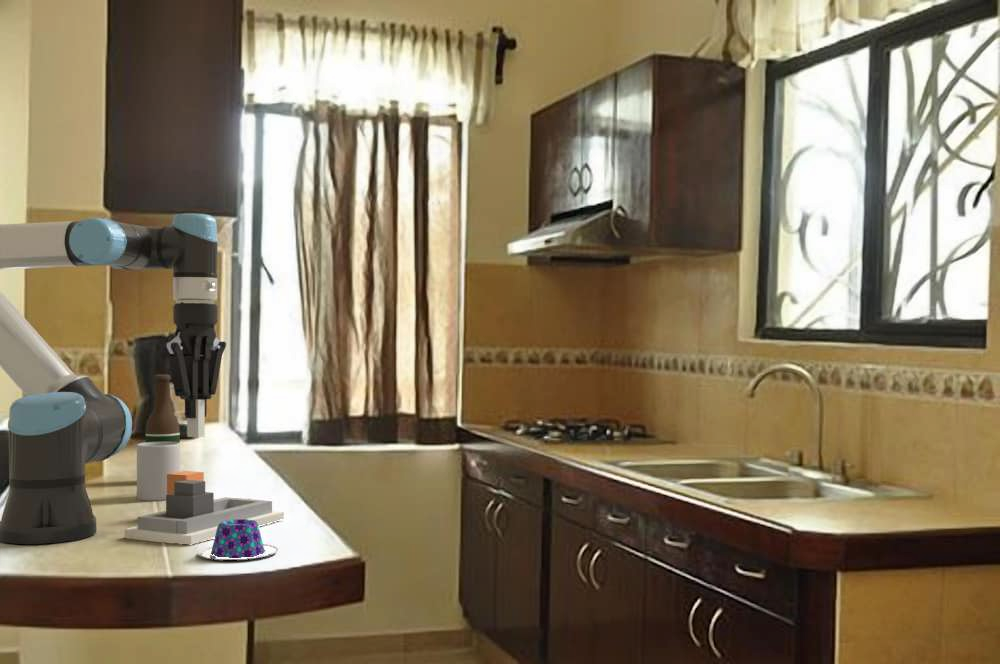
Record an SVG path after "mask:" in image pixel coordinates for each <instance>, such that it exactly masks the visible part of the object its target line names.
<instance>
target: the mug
mask: <svg viewBox="0 0 1000 664" xmlns="http://www.w3.org/2000/svg"><path fill="white" fill-rule="evenodd" d="M180 471H181V443H178V442H147V443H146V442H141V443H138V444H137V445H136V498H137V500H138V501H143V502H144V501H145V502H160V501H161V502H162V501H166V495H167V474H169V473H174V472H180Z"/></svg>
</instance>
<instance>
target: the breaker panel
mask: <svg viewBox="0 0 1000 664" xmlns="http://www.w3.org/2000/svg"><path fill="white" fill-rule="evenodd" d="M284 514H285V513H284V512H283V511H274V510H273V501H272V500H263V499H251V498H241V497H240V498H239V497H226V496H225V497H221V498H217V499H214V512H212V513H208V514H203V515H199V516H195V517H190V518H186V519H176V518H166V510H162V511H158V512H153V513H148V514H144V515H140V516H137V526H132V527H128V528H124V538H125V539H129V540H139V541H147V542H154V543H155V542H156V543H164V542H165V544H173V543H182V544H194V543H197V542H201V541H204V540H208V539H211V538H213V537H215V535H216V531H217V527H218V525H219V524H220V523H221V522H223V521H227V520H234V519H248V520H254V521H256V522H257V524H258V526H259V525H263V524H267V523H270V522H274V521H277V520H280V519H284V518H285V517H284V516H285V515H284ZM284 520H285V519H284ZM182 544H181V545H182Z"/></svg>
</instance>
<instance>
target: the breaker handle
mask: <svg viewBox="0 0 1000 664" xmlns="http://www.w3.org/2000/svg"><path fill="white" fill-rule="evenodd" d="M214 495H215V493H214V492H210V491H209V492H208V491H206V481H205V480H204V481H195V480H183V481H178V482H174V493H172V494H167V495H166V500H165V511H166V518H176V519H186V518H190V517H195V516H199V515H203V514H208V513H212V512H214V500H215V498H214Z"/></svg>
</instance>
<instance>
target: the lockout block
mask: <svg viewBox="0 0 1000 664" xmlns="http://www.w3.org/2000/svg"><path fill="white" fill-rule="evenodd" d="M204 476H205V472H204V471H193V470H180V472H174V473H169V474H167V494H172V493H174V482H178V481H183V480H195V481H205V477H204Z"/></svg>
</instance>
